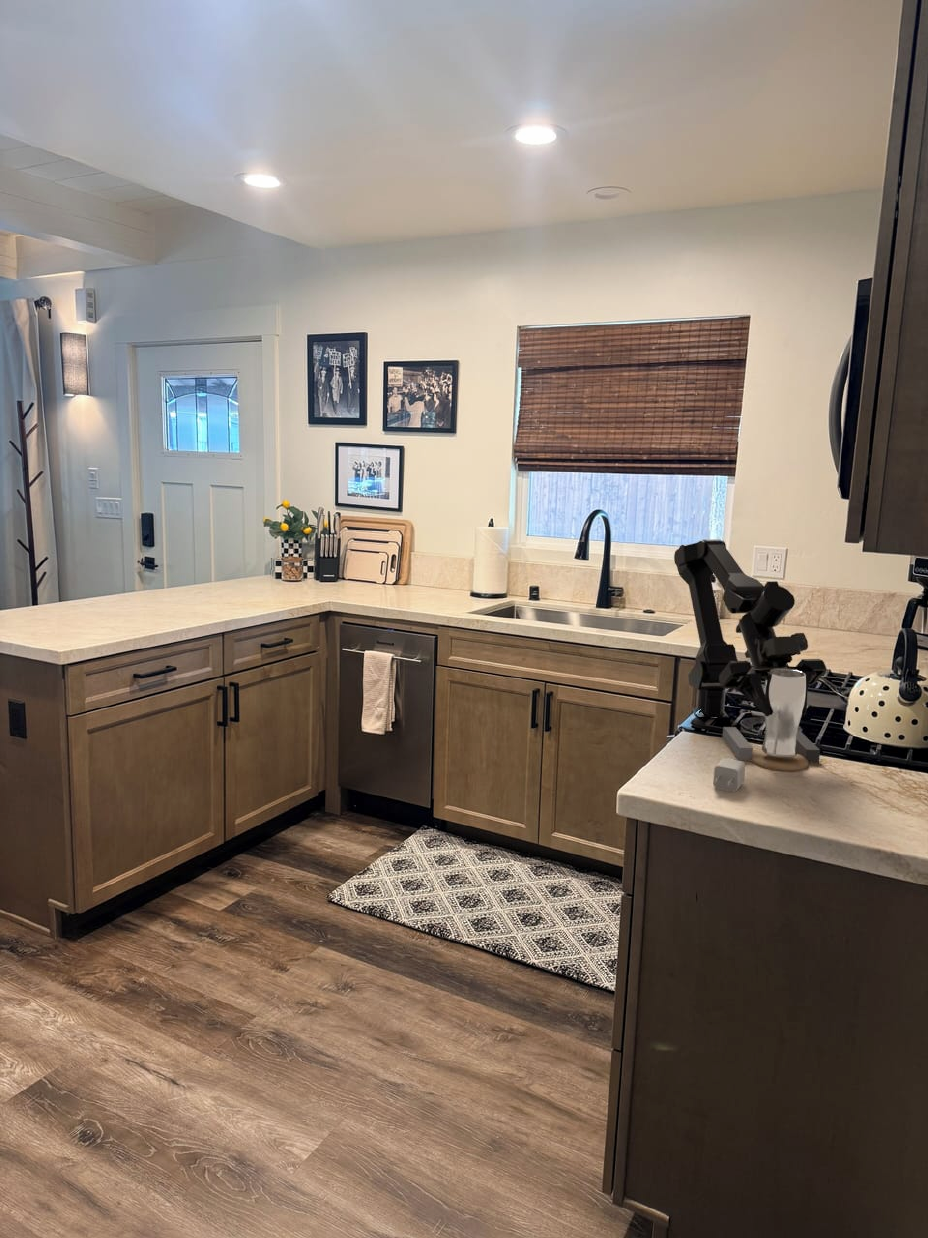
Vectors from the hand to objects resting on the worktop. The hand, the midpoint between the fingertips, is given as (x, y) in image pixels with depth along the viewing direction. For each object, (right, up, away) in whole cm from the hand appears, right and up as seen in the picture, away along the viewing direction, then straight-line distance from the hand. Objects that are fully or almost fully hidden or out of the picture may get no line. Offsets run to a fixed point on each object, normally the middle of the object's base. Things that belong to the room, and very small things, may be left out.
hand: (786, 714), depth 149 cm
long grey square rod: (+6, -8, +8) cm, 13 cm away
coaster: (0, -9, +3) cm, 9 cm away
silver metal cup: (0, -7, +3) cm, 8 cm away
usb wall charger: (-14, -11, -10) cm, 20 cm away
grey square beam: (-6, -8, +9) cm, 13 cm away
